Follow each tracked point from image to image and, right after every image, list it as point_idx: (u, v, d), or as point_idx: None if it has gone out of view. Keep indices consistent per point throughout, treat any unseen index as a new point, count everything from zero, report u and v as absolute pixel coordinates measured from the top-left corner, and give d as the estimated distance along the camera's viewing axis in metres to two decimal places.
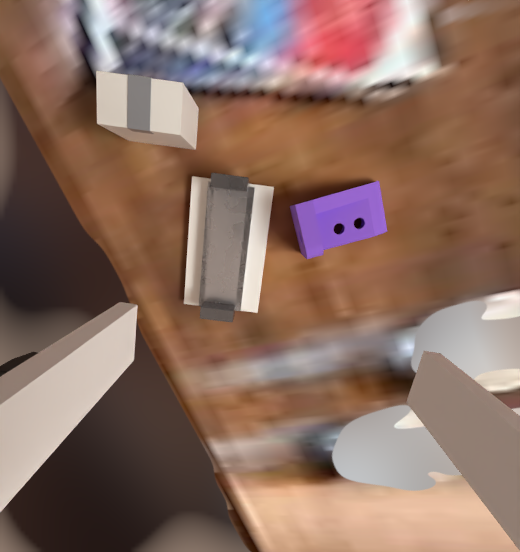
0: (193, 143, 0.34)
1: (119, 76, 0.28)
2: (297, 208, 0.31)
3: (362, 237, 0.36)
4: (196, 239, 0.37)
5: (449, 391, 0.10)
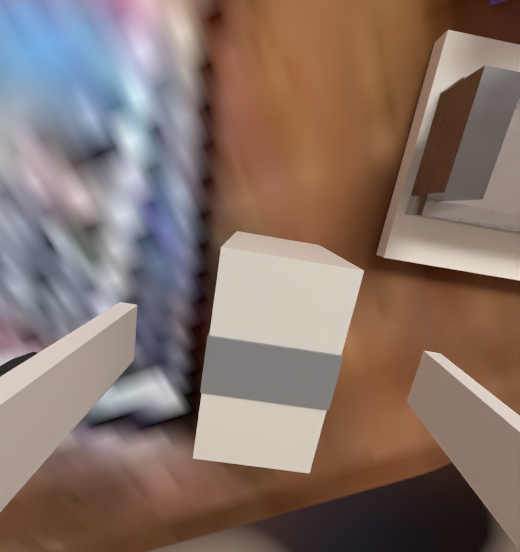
0: (316, 246, 0.15)
1: (205, 410, 0.11)
2: None
3: None
4: None
5: (449, 391, 0.10)
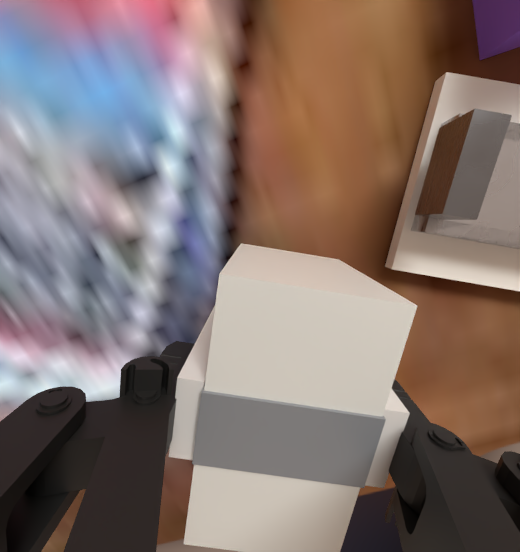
0: (337, 263, 0.12)
1: (199, 486, 0.08)
2: None
3: None
4: None
5: None
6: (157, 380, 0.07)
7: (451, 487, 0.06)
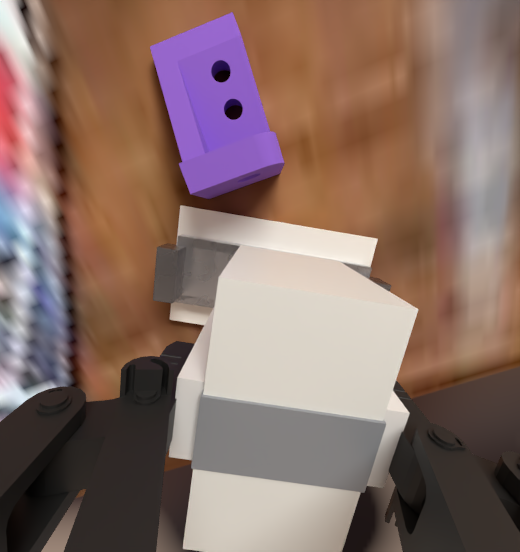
0: (338, 264, 0.12)
1: (198, 490, 0.08)
2: (195, 189, 0.18)
3: (245, 60, 0.20)
4: None
5: None
6: (157, 380, 0.07)
7: (451, 487, 0.06)
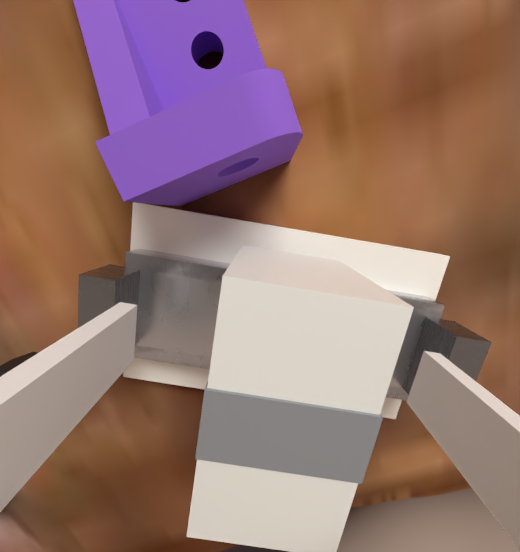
0: (338, 264, 0.12)
1: (201, 480, 0.08)
2: (133, 192, 0.09)
3: None
4: None
5: (449, 391, 0.10)
6: None
7: None
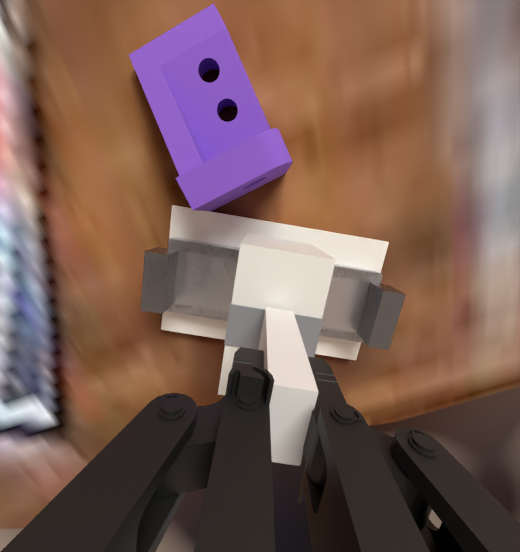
0: (309, 245, 0.19)
1: (227, 358, 0.15)
2: (197, 204, 0.16)
3: (233, 54, 0.18)
4: None
5: None
6: (258, 388, 0.07)
7: (346, 463, 0.06)
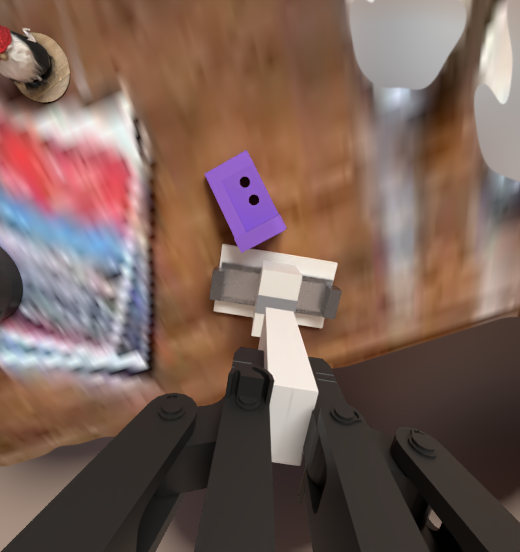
0: (293, 266, 0.38)
1: (256, 318, 0.34)
2: (243, 250, 0.35)
3: (257, 174, 0.37)
4: None
5: None
6: (258, 388, 0.07)
7: (346, 464, 0.06)
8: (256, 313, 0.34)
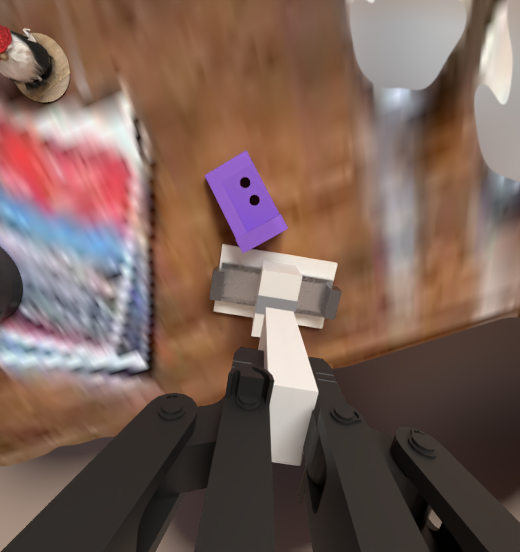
0: (293, 266, 0.38)
1: (256, 319, 0.34)
2: (245, 250, 0.35)
3: (257, 175, 0.37)
4: None
5: None
6: (258, 388, 0.07)
7: (346, 463, 0.06)
8: (256, 313, 0.34)
